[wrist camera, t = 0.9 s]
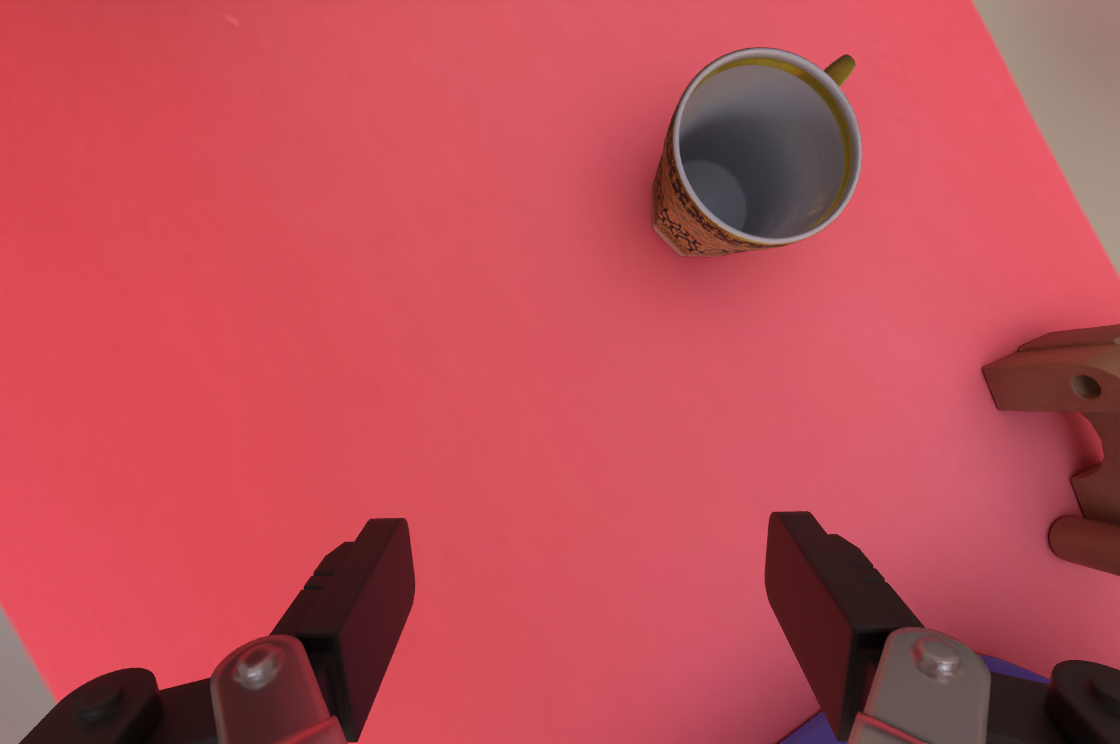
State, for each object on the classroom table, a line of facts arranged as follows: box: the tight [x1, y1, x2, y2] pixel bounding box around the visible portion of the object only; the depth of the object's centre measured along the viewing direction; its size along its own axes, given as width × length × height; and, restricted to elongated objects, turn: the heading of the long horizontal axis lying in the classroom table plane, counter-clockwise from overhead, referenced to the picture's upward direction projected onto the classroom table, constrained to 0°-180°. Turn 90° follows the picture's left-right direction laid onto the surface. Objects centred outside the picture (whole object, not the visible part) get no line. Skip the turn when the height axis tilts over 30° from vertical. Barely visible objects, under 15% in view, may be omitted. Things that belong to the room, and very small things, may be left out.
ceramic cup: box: [652, 47, 862, 257], centre depth 33 cm, size 13×10×10 cm
